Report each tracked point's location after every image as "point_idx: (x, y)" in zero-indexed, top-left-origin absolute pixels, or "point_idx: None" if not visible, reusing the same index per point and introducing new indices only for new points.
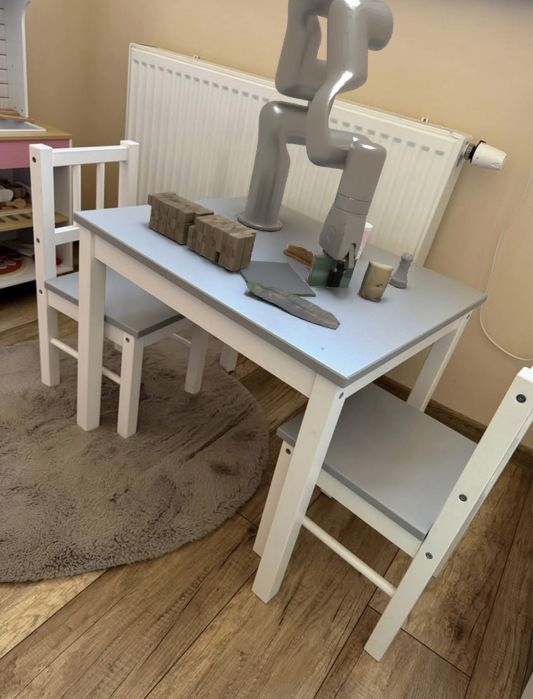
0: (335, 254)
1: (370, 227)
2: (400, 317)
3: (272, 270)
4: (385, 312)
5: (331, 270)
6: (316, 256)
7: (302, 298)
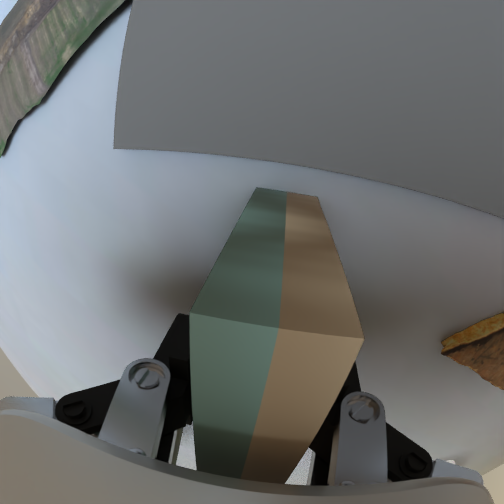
0: (6, 451)
1: None
2: (58, 386)
3: (458, 36)
4: (68, 373)
5: (179, 364)
6: (258, 322)
7: (70, 39)
